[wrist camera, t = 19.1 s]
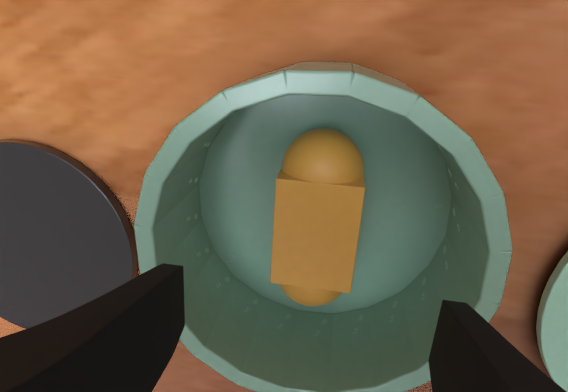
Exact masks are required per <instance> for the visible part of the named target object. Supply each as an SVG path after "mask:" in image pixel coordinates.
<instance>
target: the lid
mask: <svg viewBox="0 0 568 392" xmlns="http://www.w3.org/2000/svg"><path fill="white" fill-rule="evenodd" d="M536 332H537V342H538V347H539V351H540V355H541V358H542V361H543V363H544V365H545V367H546V369H547V371H548V373H549V375H550V377H551V378H552V380H553V381H554V382H555V383H557V384H558V385H559V386H560V387H562V388H563V389H564V390H565V391H567V392H568V251H567V252H566V254H565V255H564V256H563V257H562V259H561V260H560V261H559V263H558V264H557V266H556V268H555V269H554V271H553V273H552V274H551V276H550V278H549V280H548V282H547V284H546V287H545V289H544V291H543V294H542V297H541V301H540V305H539V309H538V314H537V326H536Z"/></svg>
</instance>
